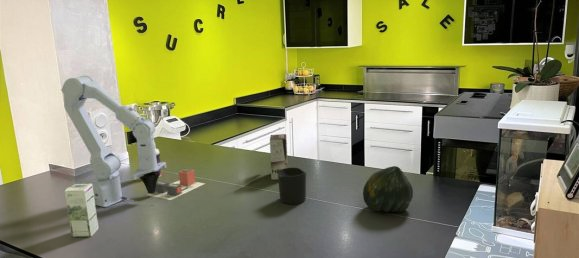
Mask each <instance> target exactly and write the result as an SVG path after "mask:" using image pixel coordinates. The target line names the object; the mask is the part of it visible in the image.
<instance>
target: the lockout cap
mask: <svg viewBox="0 0 579 258" xmlns="http://www.w3.org/2000/svg"><path fill="white" fill-rule="evenodd" d="M195 172H196V171H195V169H188V168H185V169H183V170H180V171H178V176H179V180H180V185H185V186H190V185H192V184H194V183H195V182H196V173H195Z"/></svg>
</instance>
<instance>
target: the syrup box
mask: <svg viewBox="0 0 579 258" xmlns="http://www.w3.org/2000/svg"><path fill="white" fill-rule="evenodd" d="M64 196H65V202H66V203H65V204H66V209H67V216H68V221H69V222H68V223H69V227H70V233H71V234H70V235H71V237H72V238H83V237H84V238H85V237H86V238H87V237H92V236H93V235H94V234H95V233H96V232H97V231H98V230H99V222H98V215H97V209H96V205H95V200H94V193H93V186H92V184H91V183H75V184H71V185H70V186H68V187H67V188H66V189H65V190H64Z"/></svg>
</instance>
